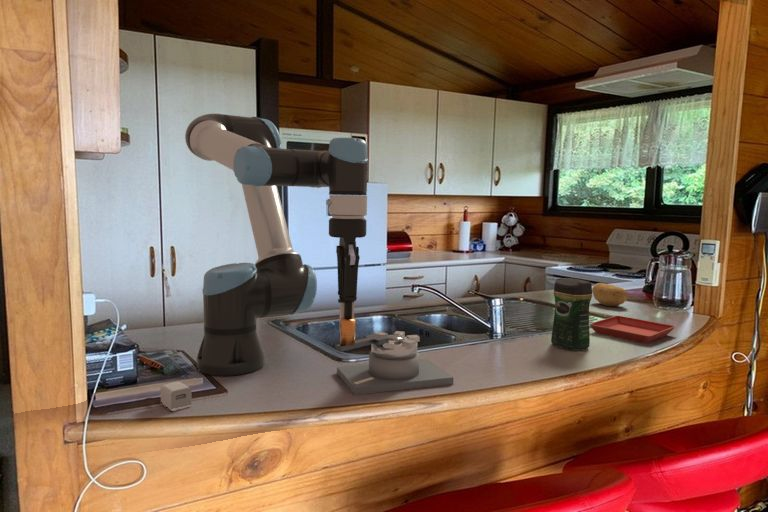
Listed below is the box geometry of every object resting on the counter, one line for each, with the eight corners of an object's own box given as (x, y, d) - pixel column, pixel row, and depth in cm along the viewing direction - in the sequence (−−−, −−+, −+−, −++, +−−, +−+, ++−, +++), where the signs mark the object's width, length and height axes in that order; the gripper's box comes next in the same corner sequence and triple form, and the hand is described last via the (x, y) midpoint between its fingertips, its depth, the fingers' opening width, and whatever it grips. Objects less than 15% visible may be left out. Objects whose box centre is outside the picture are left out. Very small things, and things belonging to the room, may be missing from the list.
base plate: (354, 394, 112) (354, 368, 112) (336, 373, 125) (337, 349, 125) (453, 384, 120) (454, 359, 119) (426, 364, 133) (427, 342, 132)
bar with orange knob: (393, 343, 129) (394, 303, 128) (428, 353, 122) (429, 310, 121) (320, 361, 115) (321, 316, 113) (356, 374, 107) (356, 326, 106)
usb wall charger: (170, 412, 102) (170, 391, 101) (155, 402, 107) (154, 382, 106) (191, 407, 105) (191, 386, 104) (175, 397, 110) (175, 377, 109)
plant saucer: (648, 347, 153) (649, 335, 153) (587, 334, 167) (588, 323, 166) (675, 336, 165) (676, 325, 165) (616, 325, 179) (616, 315, 178)
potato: (615, 310, 200) (616, 288, 199) (585, 303, 213) (586, 282, 212) (634, 308, 204) (635, 286, 203) (603, 301, 217) (605, 280, 216)
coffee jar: (594, 349, 149) (598, 280, 147) (574, 353, 145) (578, 282, 143) (565, 340, 157) (569, 275, 155) (545, 344, 153) (549, 277, 151)
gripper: (324, 215, 117) (324, 326, 120) (333, 218, 104) (332, 342, 107) (360, 215, 119) (358, 324, 121) (373, 218, 106) (371, 340, 109)
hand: (346, 332), depth 114 cm, fingers closed
